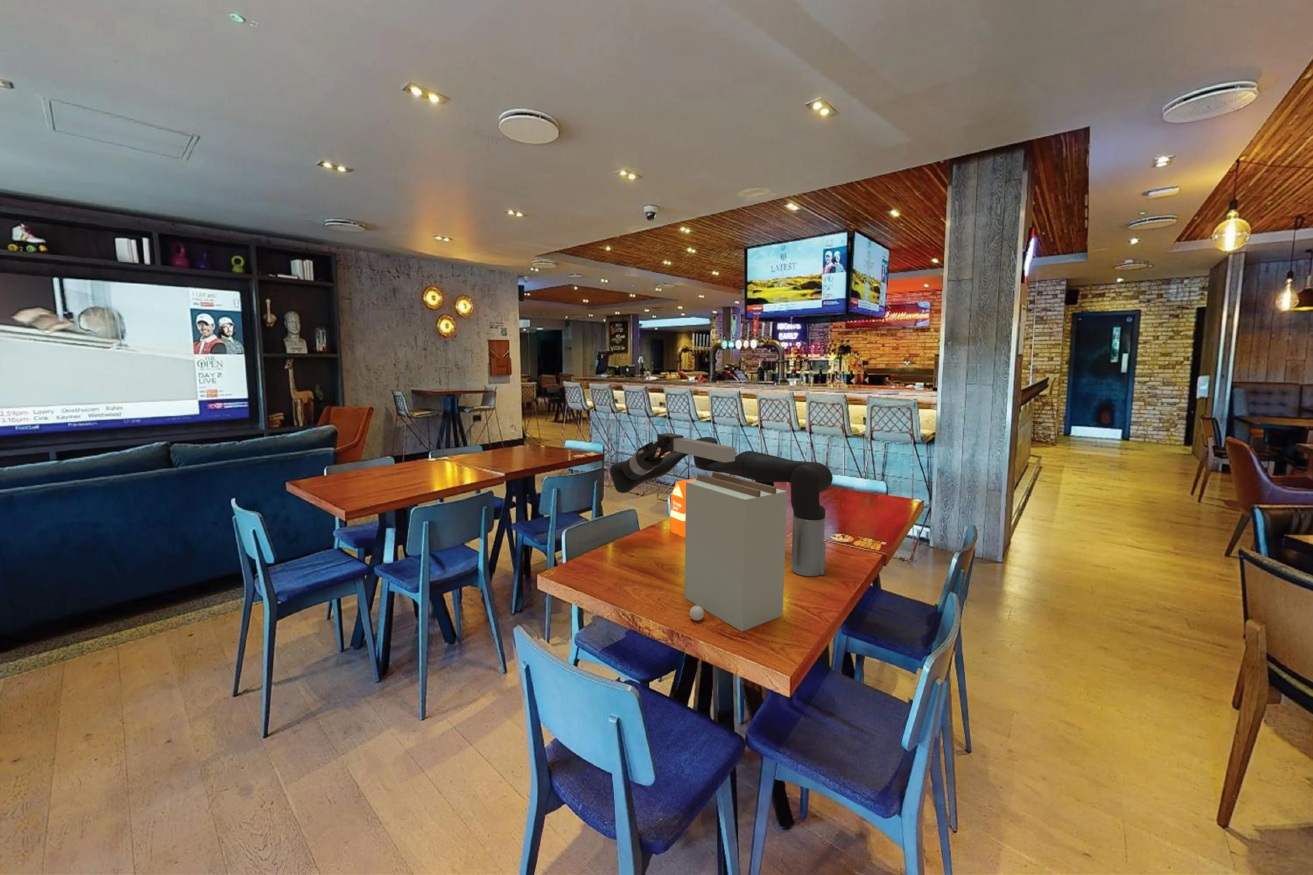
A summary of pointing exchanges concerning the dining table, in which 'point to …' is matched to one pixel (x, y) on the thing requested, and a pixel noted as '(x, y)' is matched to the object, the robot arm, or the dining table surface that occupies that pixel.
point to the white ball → (696, 613)
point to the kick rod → (698, 448)
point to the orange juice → (679, 508)
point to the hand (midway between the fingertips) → (673, 438)
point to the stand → (735, 549)
